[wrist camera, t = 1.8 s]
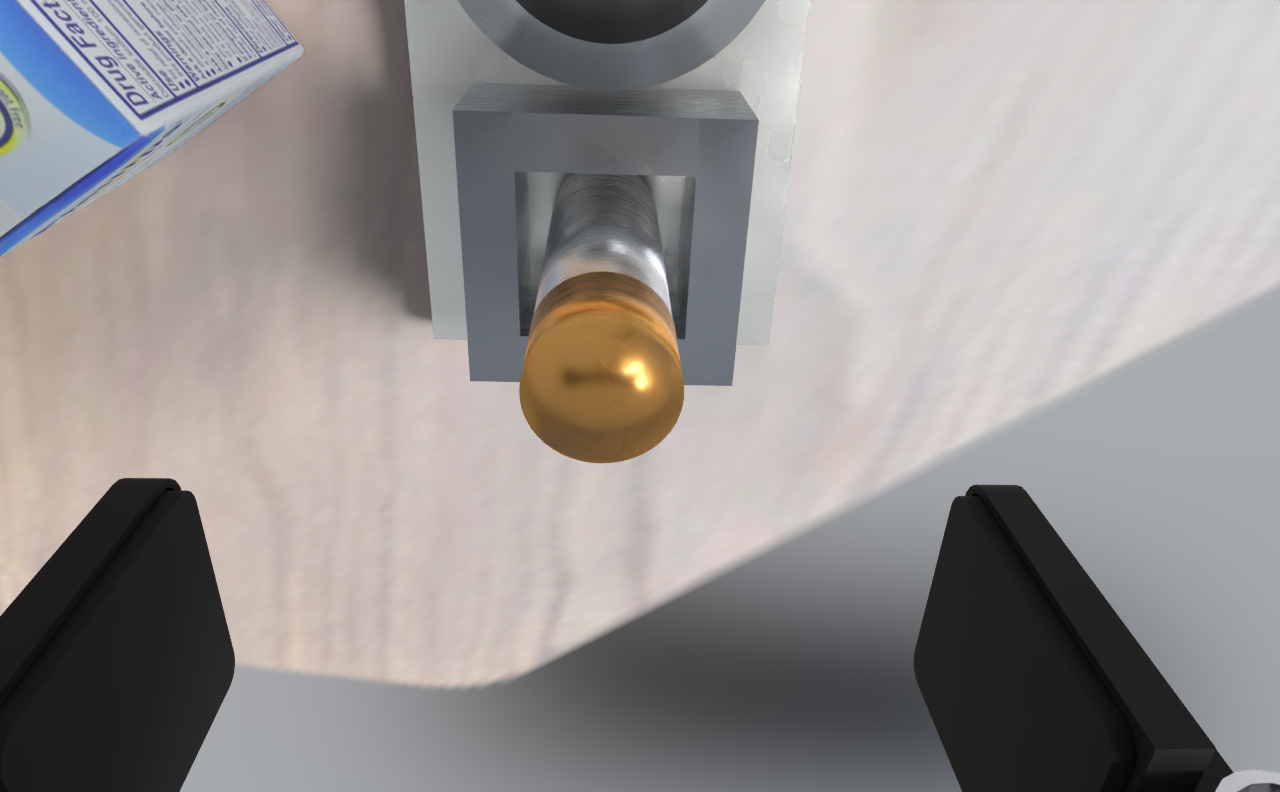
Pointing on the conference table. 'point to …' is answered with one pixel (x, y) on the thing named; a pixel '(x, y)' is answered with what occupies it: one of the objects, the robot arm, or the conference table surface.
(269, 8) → the medicine box
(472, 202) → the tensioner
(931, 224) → the conference table surface
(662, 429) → the pin
